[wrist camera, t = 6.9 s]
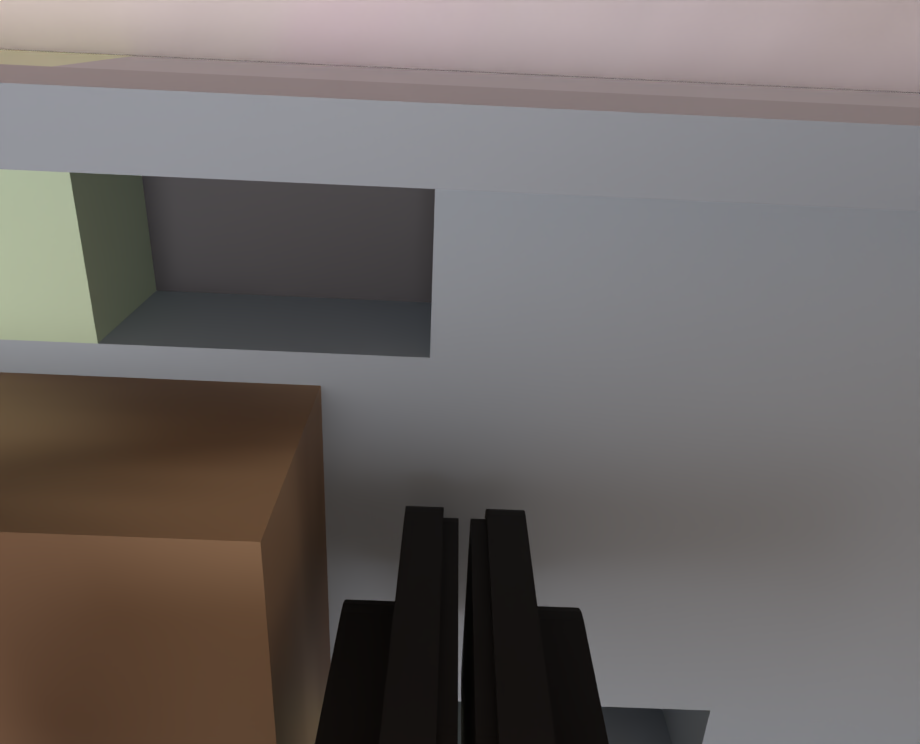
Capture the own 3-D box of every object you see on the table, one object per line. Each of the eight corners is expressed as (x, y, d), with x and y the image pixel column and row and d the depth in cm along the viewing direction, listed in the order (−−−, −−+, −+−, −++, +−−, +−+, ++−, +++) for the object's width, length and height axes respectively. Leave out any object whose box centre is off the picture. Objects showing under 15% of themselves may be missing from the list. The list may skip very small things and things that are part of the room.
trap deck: (1333, 112, 12) (1809, 167, 7) (1026, 733, 17) (1204, 961, 13) (-195, 39, 11) (-573, 56, 7) (-7, 696, 17) (-159, 916, 13)
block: (320, 384, 11) (260, 541, 8) (331, 678, 13) (288, 893, 10) (-80, 369, 11) (-310, 519, 8) (2, 666, 13) (-147, 878, 10)
